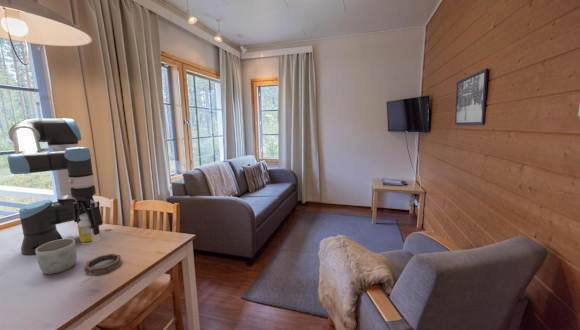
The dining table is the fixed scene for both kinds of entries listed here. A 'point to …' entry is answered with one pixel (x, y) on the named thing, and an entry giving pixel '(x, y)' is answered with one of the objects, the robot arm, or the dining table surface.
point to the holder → (102, 264)
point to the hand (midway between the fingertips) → (90, 239)
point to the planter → (56, 255)
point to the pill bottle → (84, 229)
